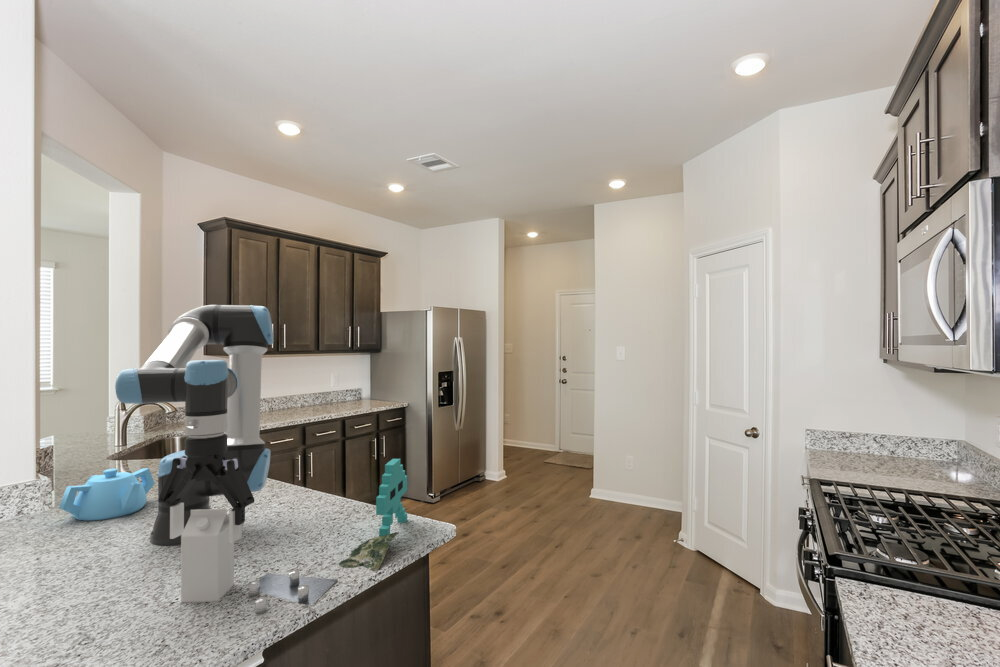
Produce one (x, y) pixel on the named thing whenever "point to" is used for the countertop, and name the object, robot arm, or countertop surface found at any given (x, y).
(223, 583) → the milk carton
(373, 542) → the topographical model
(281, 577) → the plate
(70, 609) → the countertop surface
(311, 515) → the countertop surface
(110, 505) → the teapot
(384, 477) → the alien figure
